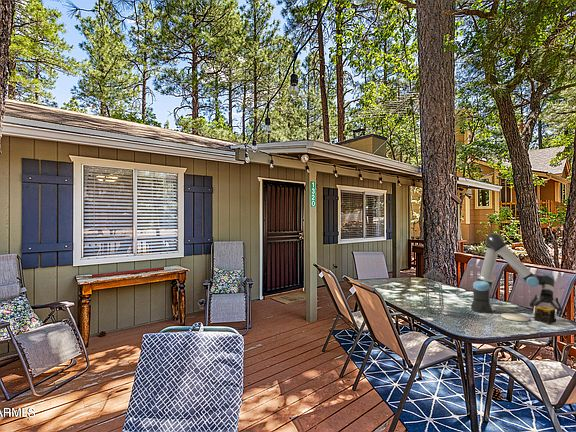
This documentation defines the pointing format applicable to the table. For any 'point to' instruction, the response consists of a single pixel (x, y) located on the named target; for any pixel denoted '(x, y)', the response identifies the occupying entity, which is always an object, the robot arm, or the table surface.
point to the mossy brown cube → (545, 314)
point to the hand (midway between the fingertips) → (544, 316)
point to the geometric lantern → (434, 286)
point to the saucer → (515, 317)
